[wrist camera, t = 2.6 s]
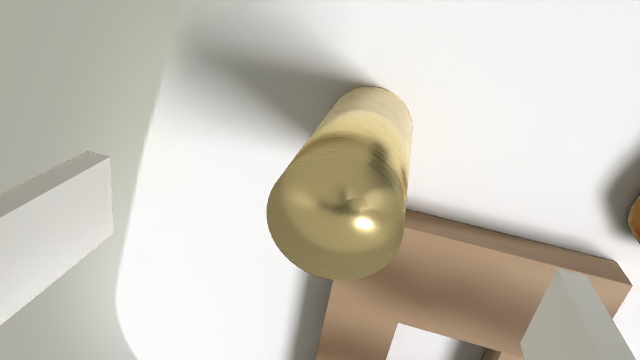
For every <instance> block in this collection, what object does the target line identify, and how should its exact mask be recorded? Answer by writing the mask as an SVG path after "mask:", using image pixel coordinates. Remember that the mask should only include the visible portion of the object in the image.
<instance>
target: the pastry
mask: <svg viewBox="0 0 640 360" xmlns="http://www.w3.org/2000/svg"><path fill="white" fill-rule="evenodd" d="M628 225H629V228H630V230H631V231H632V234H633V235H634V237H635V238H636V240H637V241H638V242H639V243H640V195H639V197H638V198H637V199H636V201H635V202H634V203H633V205H632V206H631V208H630V212H629V218H628Z"/></svg>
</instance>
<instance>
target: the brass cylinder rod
mask: <svg viewBox="0 0 640 360" xmlns="http://www.w3.org/2000/svg"><path fill="white" fill-rule="evenodd" d="M412 129H413V127H412V120H411V116H410V113H409V111H408V109H407V107H406V106H405V104H404V103H403V102H402V101H401V100H400V98H398V97H397V96H396V95H395V94H393V93H391V92H390V91H387V90H385V89H382V88H379V87H360V88H356V89H353V90H351V91H349V92H347V93H346V94H344V95H343V96H342V97H341V98H340V99H338V100H337V102H336V103H335V104H334V106H333V107H332V108H331V110H330V111H329V112H328V114H327V115H326V116H325V118H324V119H323V120H322V122H321V123H320V124H319V126H318V127H317V128H316V130H315V131H314V132H313V134H312V135H311V136H310V138H309V139H308V140H307V142H306V143H305V144H304V146H303V147H302V149H301V150H300V151H299V153H298V154H297V155H296V157H295V158H294V159H293V161H292V162H291V163H290V165H289V166H288V167H287V169H286V170H285V171H284V173H283V174H282V175H281V177H280V178H279V179H278V181H277V182H276V183H275V185H274V187H273V188H272V190H271V193H270V195H269V198H268V203H267V222H268V227H269V230H270V233H271V236H272V238H273V240H274V242H275V244H276V245H277V247H278V248H279V249H280V251H281V252H282V253H283V254H284V255H285V257H287V258H288V259H289V260H290V261H291V262H292V263H293V264H295V265H296V266H297V267H299V268H301V269H302V270H304V271H306V272H308V273H310V274H312V275H315V276H318V277H321V278H325V279H329V280H338V281H347V280H355V279H360V278H364V277H366V276H369V275H372V274H373V273H375V272H377V271H379V270H380V269H382V268H383V267H384V266H386V265H387V264H388V263H389V262H390V261H391V259H392V258H393V257H394V256H395V254H396V252H397V251H398V249H399V247H400V244H401V242H402V238H403V233H404V221H405V210H406V199H407V187H408V176H409V164H410V153H411V142H412Z"/></svg>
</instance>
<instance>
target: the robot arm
mask: <svg viewBox="0 0 640 360" xmlns="http://www.w3.org/2000/svg"><path fill="white" fill-rule="evenodd" d="M112 234H113V208H112V184H111V161H110V157H109V156H105V155H101V154H97V153H93V152H89V151H87V152H84V153H83V154H81V155H79V156H76V157H74V158H72V159H70V160H68V161H66V162H64V163H62V164H60V165H58V166H56V167H54V168H52V169H50V170H48V171H46V172H44V173H42V174H40V175H38V176H36V177H34V178H32V179H30V180H28V181H26V182H24V183H22V184H20V185H18V186H16V187H14V188H12V189H10V190H8V191H6V192H4V193H2V194H0V325H1V324H2V323H4V322H5V321H6V320H7V319H9V318H10V317H11V316H12V315H13V314H15V313H16V312H17V311H18V310H20V309H21V308H22V307H23V306H25V305H26V304H27V303H28V302H29V301H31V300H32V299H33V298H34V297H36V296H37V295H38V294H39V293H41V292H42V291H43V290H44V289H46V288H47V287H48V286H49V285H50V284H51V283H53V282H54V281H55V280H57V279H58V278H59V277H60V276H62V275H63V274H64V273H65V272H66V271H68V270H69V269H70V268H71V267H73V266H74V265H75V264H76V263H78V262H79V261H80V260H81V259H82V258H84V257H85V256H86V255H87V254H89V253H90V252H91V251H92V250H94V249H95V248H96V247H97V246H99V245H100V244H101V243H102V242H103V241H104V240H106V239H107V238H108V237H110V236H111V235H112ZM520 345H521V348H522V352H523V355H524V359H525V360H636V359H635V357H634V356H633V354H632V352H631V350H630V349H629V347H628V345H627V344H626V342H625V340H624V338H623V337H622V335H621V333H620V332H619V330H618V328H617V327H616V325H615V323H614V321H613V320H612V318H611V316H610V315H609V313H608V311H607V309H606V308H605V306H604V304H603V303H602V301H601V299H600V298H599V296H598V294H597V292H596V291H595V289H594V287H593V286H592V284H591V282H590V280H589V279H588V277H587V276H585V275H581V274H577V273H573V272H569V271H565V270H561V269H557V270H556V272H555V274H554V276H553V278H552V280H551V282H550V284H549V286H548V288H547V290H546V292H545V294H544V296H543V298H542V300H541V302H540V304H539V306H538V308H537V310H536V312H535V314H534V316H533V318H532V320H531V322H530V324H529V326H528V328H527V331H526V333H525V335H524V337H523V339H522V341H521V343H520Z"/></svg>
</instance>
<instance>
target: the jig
mask: <svg viewBox="0 0 640 360" xmlns="http://www.w3.org/2000/svg"><path fill="white" fill-rule="evenodd" d="M557 269H561V270H565V271H569V272H573V273H577V274H581V275H585V276H587V277H588V279H589V280H590V282H591V284H592V286H593V287H594V289H595V291H596V292H597V294H598V296H599V298H600V299H601V301H602V303H603V304H604V306H605V308H606V309H607V311H608V313H609V315H610V316H611V318H612V319H613V317H614V315H615V314H616V312H617V311H618V309H619V307H620V306H621V304H622V302H623V301H624V299H625V297H626V296H627V294H628V292H629V291H630V289H631V288H632V286H633V285H632V284H631V282H630V281H629V280H628V278H627V277H626V275H625V274H624V272H623V271H622V269H621V268H620V266H619V265H618V263H617V262H615V261H611V260H607V259H603V258H599V257H595V256H591V255H587V254H583V253H579V252H575V251H571V250H567V249H563V248H559V247H555V246H551V245H547V244H543V243H539V242H535V241H531V240H527V239H523V238H519V237H515V236H511V235H507V234H503V233H499V232H495V231H491V230H487V229H483V228H479V227H475V226H471V225H467V224H463V223H459V222H455V221H451V220H447V219H443V218H439V217H435V216H431V215H427V214H423V213H419V212H415V211H411V210H407V209H406V210H405V221H404V233H403V238H402V242H401V244H400V247H399V249H398V251H397V252H396V254H395V256H394V257H393V258H392V259H391V261H390V262H389V263H388V264H387V265H386V266H384V267H383V268H382V269H380V270H379V271H377V272H375V273H373V274H372V275H369V276H366V277H364V278H360V279H355V280H347V281H338V280H333V283H332V287H331V292H330V296H329V301H328V305H327V310H326V314H325V318H324V323H323V327H322V332H321V336H320V341H319V345H318V349H317V354H316V358H315V360H386V358H387V354H388V351H389V348H390V345H391V342H392V339H393V336H394V333H395V330H396V327H397V324H398V323H401V324H405V325H408V326H412V327H415V328H419V329H422V330H426V331H430V332H433V333H437V334H440V335H444V336H447V337H451V338H454V339H458V340H461V341H465V342H468V343H472V344H475V345H479V346H482V347H486V350H485V353H484V355H483V357H482V359H481V360H525V359H524V355H523V352H522V348H521V345H520V343H521V341H522V339H523V337H524V335H525V333H526V331H527V328H528V326H529V324H530V322H531V320H532V318H533V316H534V314H535V312H536V310H537V308H538V306H539V304H540V302H541V300H542V298H543V296H544V294H545V292H546V290H547V288H548V286H549V284H550V282H551V280H552V278H553V276H554V274H555V272H556V270H557Z"/></svg>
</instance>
